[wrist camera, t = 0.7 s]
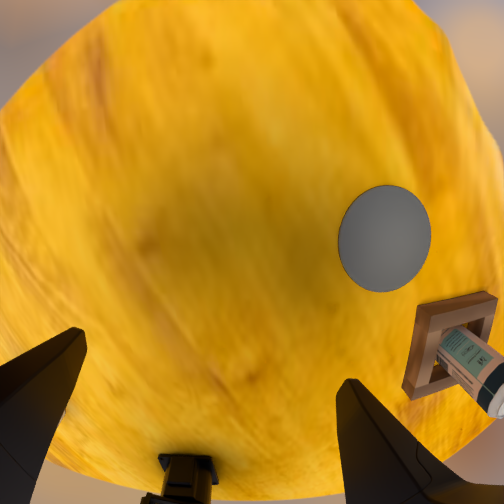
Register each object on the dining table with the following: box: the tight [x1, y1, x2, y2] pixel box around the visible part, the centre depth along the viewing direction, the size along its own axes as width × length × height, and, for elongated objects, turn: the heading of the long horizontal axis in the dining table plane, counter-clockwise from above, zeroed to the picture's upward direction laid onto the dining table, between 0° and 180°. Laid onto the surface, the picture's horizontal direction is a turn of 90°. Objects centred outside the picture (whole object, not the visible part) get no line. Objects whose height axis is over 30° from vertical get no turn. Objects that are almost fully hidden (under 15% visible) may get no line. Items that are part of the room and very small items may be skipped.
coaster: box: [338, 186, 431, 292], centre depth 23 cm, size 9×9×1 cm
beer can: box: [435, 324, 504, 419], centre depth 20 cm, size 5×5×12 cm
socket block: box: [402, 291, 498, 401], centre depth 25 cm, size 10×10×2 cm
